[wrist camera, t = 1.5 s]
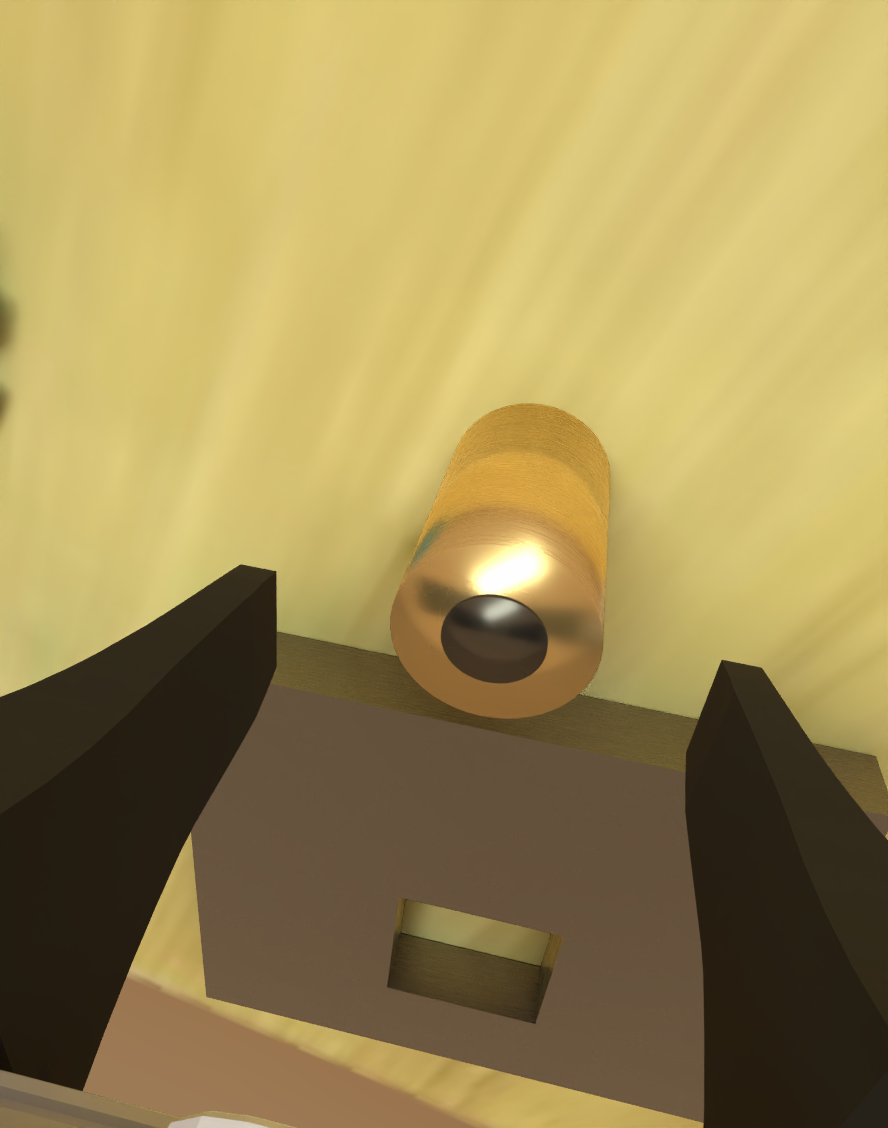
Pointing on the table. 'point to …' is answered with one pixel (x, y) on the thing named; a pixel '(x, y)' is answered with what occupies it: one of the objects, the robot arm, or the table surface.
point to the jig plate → (467, 875)
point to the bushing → (510, 568)
